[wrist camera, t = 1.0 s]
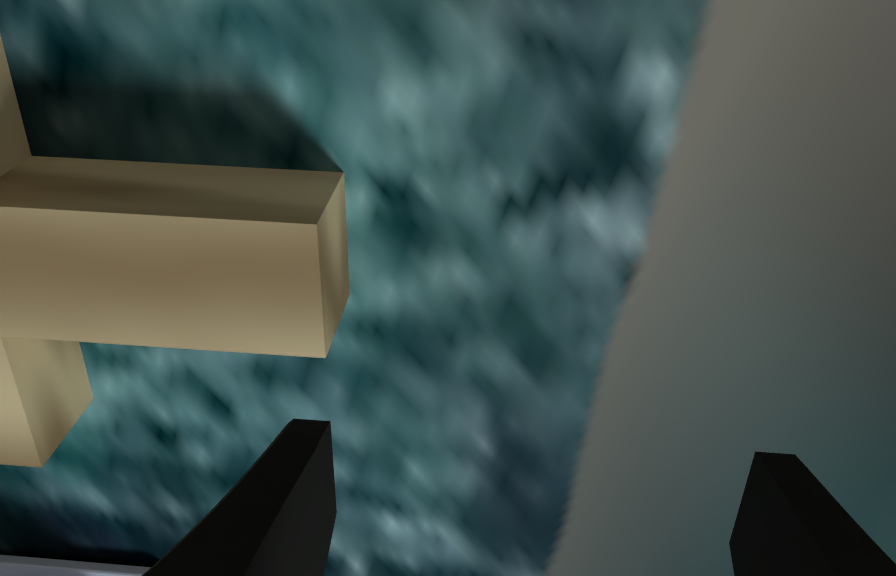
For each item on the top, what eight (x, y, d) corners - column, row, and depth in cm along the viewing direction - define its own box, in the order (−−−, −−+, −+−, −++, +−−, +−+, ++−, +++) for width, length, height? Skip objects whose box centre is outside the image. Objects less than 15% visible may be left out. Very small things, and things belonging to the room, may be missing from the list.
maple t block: (355, 417, 24) (334, 490, 21) (-18, 390, 24) (-82, 457, 22) (335, -9, 17) (302, 19, 15) (-161, -29, 18) (-275, -4, 16)
